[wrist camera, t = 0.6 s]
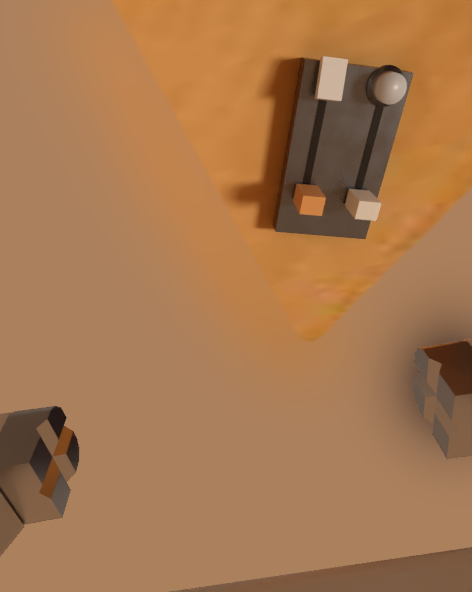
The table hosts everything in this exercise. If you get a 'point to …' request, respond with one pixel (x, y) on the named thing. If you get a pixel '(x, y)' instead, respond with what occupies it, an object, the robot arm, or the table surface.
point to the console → (336, 149)
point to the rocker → (331, 79)
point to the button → (389, 87)
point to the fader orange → (309, 199)
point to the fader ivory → (362, 204)
